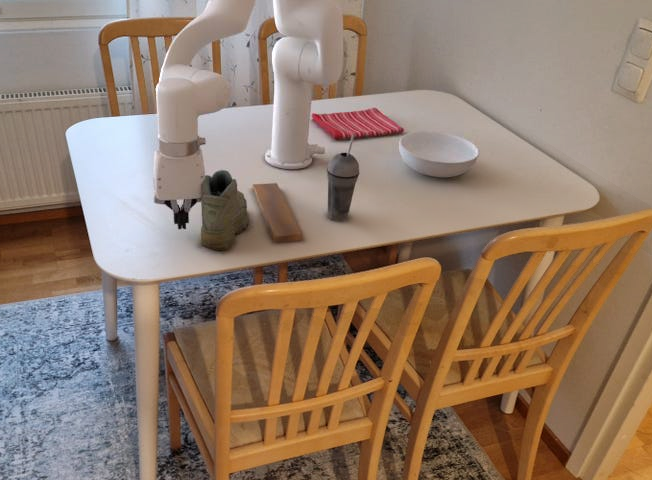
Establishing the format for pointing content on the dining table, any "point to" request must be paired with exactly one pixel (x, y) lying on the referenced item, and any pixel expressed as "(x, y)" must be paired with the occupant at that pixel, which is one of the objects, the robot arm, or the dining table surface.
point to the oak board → (276, 213)
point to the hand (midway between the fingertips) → (181, 225)
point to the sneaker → (222, 211)
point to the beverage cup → (341, 184)
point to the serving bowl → (437, 153)
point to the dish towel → (356, 124)
